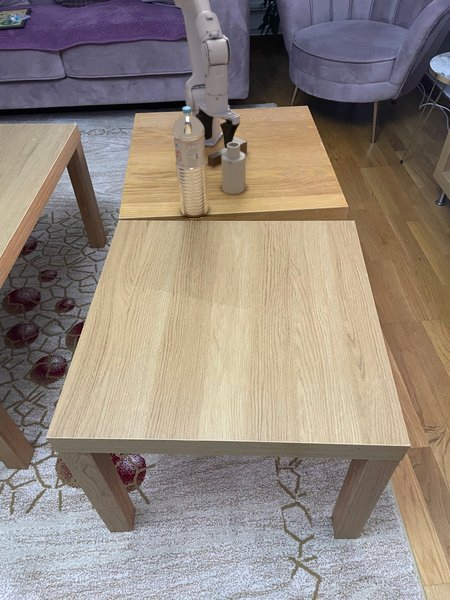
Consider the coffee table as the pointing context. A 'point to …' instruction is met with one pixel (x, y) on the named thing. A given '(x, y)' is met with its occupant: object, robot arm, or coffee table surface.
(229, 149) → the silver bottle
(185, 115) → the water bottle
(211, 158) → the brush
